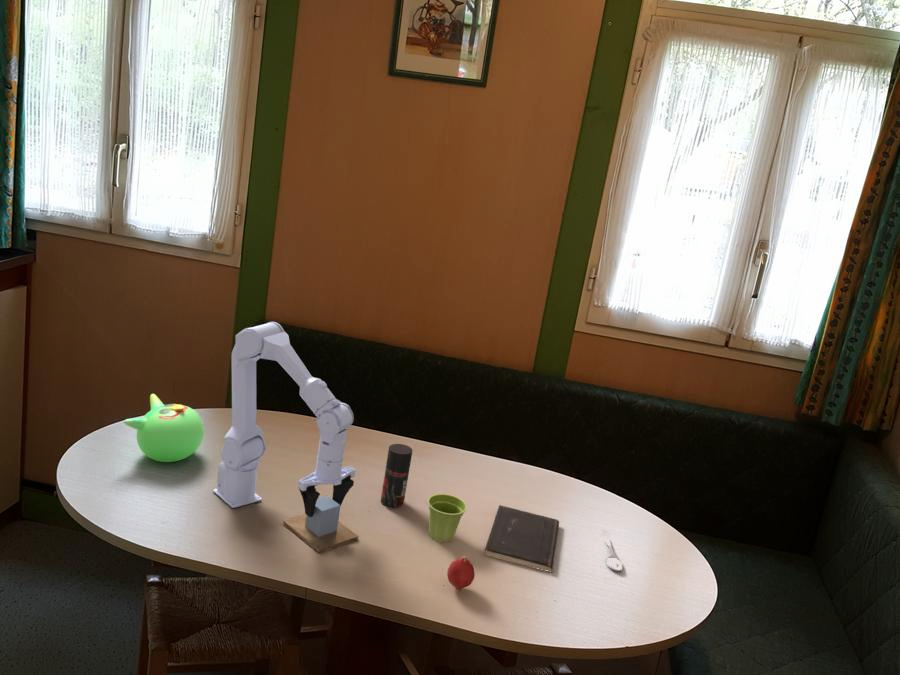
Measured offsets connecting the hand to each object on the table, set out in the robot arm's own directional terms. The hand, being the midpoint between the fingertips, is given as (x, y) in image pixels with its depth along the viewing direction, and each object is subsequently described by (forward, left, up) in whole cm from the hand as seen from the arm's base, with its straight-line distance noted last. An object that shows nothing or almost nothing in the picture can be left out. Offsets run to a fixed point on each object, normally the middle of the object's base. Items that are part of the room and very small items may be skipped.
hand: (322, 510), depth 171 cm
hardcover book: (+28, +41, -6) cm, 50 cm away
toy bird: (-49, -13, -6) cm, 51 cm away
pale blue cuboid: (0, 0, -5) cm, 5 cm away
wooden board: (0, 0, -5) cm, 5 cm away
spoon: (+43, +57, -6) cm, 72 cm away
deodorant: (-2, +24, -6) cm, 25 cm away
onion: (+33, +12, -6) cm, 36 cm away
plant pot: (+16, +24, -6) cm, 29 cm away
